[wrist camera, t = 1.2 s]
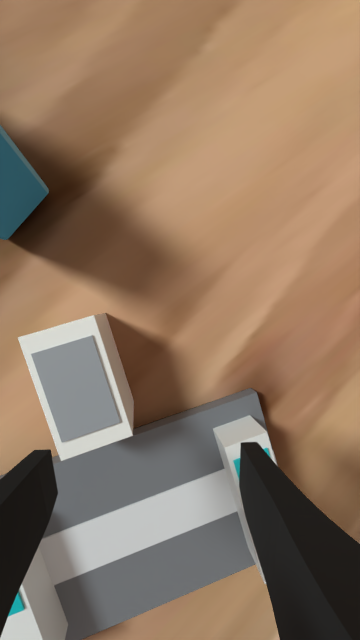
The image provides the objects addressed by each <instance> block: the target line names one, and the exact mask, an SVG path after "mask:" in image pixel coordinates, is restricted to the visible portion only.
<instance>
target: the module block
mask: <svg viewBox="0 0 360 640" xmlns="http://www.w3.org/2000/svg"><path fill="white" fill-rule="evenodd" d="M18 340H19V342H20V345H21V348H22V351H23V354H24V357H25V360H26V362H27V365H28V368H29V371H30V374H31V377H32V380H33V382H34V385H35V388H36V391H37V394H38V397H39V400H40V402H41V405H42V408H43V411H44V414H45V417H46V420H47V422H48V425H49V428H50V431H51V434H52V437H53V440H54V442H55V445H56V448H57V451H58V454H59V457H60V460H61V461H63V460H65V459H68V458H71V457H74V456H77V455H80V454H82V453H85V452H88V451H91V450H94V449H96V448H99V447H102V446H105V445H108V444H111V443H113V442H116V441H119V440H122V439H125V438H128V437H130V436H133V416H134V400H133V397H132V394H131V391H130V387H129V384H128V381H127V378H126V375H125V372H124V369H123V366H122V362H121V359H120V356H119V353H118V350H117V347H116V344H115V341H114V337H113V334H112V331H111V328H110V325H109V322H108V319H107V316H106V313H102V314H97V315H93V316H89V317H86V318H83V319H79V320H76V321H72V322H69V323H66V324H62V325H59V326H56V327H52V328H49V329H46V330H42V331H39V332H35V333H32V334H29V335H25V336H22V337H19V338H18Z"/></svg>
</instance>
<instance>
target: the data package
mask: <svg viewBox="0 0 360 640" xmlns="http://www.w3.org/2000/svg"><path fill="white" fill-rule="evenodd" d="M48 193H49V189H48V187H47V186H46V185H45V183H44V182H43V181H42V179H41V178H40V177H39V175H38V174H37V173H36V171H35V170H34V169H33V167H32V166H31V165H30V163H29V162H28V161H27V160H26V158H25V157H24V156H23V154H22V153H21V152H20V150H19V149H18V148H17V146H16V145H15V144H14V142H13V141H12V140H11V138H10V137H9V136H8V134H7V133H6V132H5V130H4V129H3V128H2V126H1V125H0V239H3V240H7V239H8V238H9V237H10V236H11V235H12V234H13V233H14V232H15V231H16V229H17V228H18V227H19V226H20V225H21V224H22V223H23V222H24V220H25V219H26V218H27V217H28V216H29V215H30V214H31V213H32V211H33V210H34V209H35V208H36V207H37V206H38V205H39V203H40V202H41V201H42V200H43V199H44V198H45V197H46V196H47V194H48Z"/></svg>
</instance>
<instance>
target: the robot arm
mask: <svg viewBox="0 0 360 640" xmlns="http://www.w3.org/2000/svg"><path fill="white" fill-rule="evenodd" d="M239 488H240V493H241V498H242V503H243V508H244V513H245V517H246V520H247V523H248V527H249V530H250V533H251V536H252V540H253V543H254V546H255V549H256V552H257V556H258V559H259V562H260V565H261V568H262V572H263V575H264V578H265V581H266V584H267V588H268V592H269V595H270V599H271V602H272V607H273V611H274V615H275V620H276V624H277V628H278V633H279V637H280V640H360V544H359V543H358V542H357V541H355V540H354V539H353V538H352V537H350V536H349V535H348V534H347V533H345V532H344V531H343V530H342V529H341V528H340V527H338V526H337V525H336V524H335V523H334V522H333V521H331V520H330V519H329V518H328V517H327V516H326V515H325V514H324V513H323V512H321V511H320V510H319V509H318V508H317V507H316V506H315V505H314V504H313V503H312V502H311V501H310V500H309V499H308V498H307V497H306V496H305V495H304V494H303V493H302V492H301V491H300V490H299V489H298V488H297V487H296V486H295V485H294V484H293V483H292V481H291V480H290V479H289V478H288V477H287V476H286V475H285V474H284V473H283V472H282V471H281V469H280V468H279V467H278V466H277V465H276V464H275V463H274V461H273V460H272V459H271V458H270V457H269V455H268V454H267V453H266V452H265V451H264V449H263V448H262V447H261V446H260V445H259V444H258V443H257V442H241V448H240V474H239ZM57 495H58V489H57V483H56V478H55V472H54V466H53V461H52V455H51V450H34V451H33V452H32V453H30V454H29V455H28V456H27V457H25V458H24V459H23V460H22V461H21V462H20V463H19V464H17V465H16V466H15V467H14V468H13V469H12V470H10V471H9V472H8V473H7V474H6V475H5V476H4V477H2V478H1V479H0V637H1V635H2V632H3V629H4V626H5V623H6V621H7V618H8V615H9V613H10V610H11V608H12V605H13V603H14V600H15V598H16V596H17V593H18V591H19V589H20V587H21V584H22V582H23V580H24V578H25V576H26V573H27V571H28V569H29V567H30V564H31V562H32V560H33V558H34V555H35V553H36V551H37V549H38V546H39V544H40V542H41V540H42V537H43V535H44V533H45V530H46V528H47V526H48V523H49V521H50V518H51V515H52V512H53V509H54V505H55V502H56V499H57Z"/></svg>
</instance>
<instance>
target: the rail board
mask: <svg viewBox="0 0 360 640" xmlns="http://www.w3.org/2000/svg"><path fill="white" fill-rule="evenodd" d="M241 442H257V443H258V444H259V445H260V446H261V447H262V448H263V449H264V451H265V452H266V453H267V454H268V455H269V457H270V458H271V459H272V460H273V461H274V463H275V464H276V465H277V461H276V458H275V454H274V451H273V449H272V445H271V442H270V438H269V434H268V431H267V427H266V424H265V420H264V417H263V413H262V410H261V406H260V402H259V399H258V395H257V392H255V391H254V390H253V389H251V388H249V389H246V390H244V391H241V392H238V393H235V394H232V395H229V396H226V397H224V398H221V399H218V400H215V401H212V402H209V403H206V404H204V405H201V406H198V407H195V408H192V409H189V410H187V411H184V412H181V413H178V414H175V415H172V416H169V417H167V418H164V419H161V420H158V421H155V422H152V423H149V424H147V425H144V426H141V427H138V428H135V429H133V436H130V437H128V438H125V439H122V440H119V441H116V442H113V443H111V444H108V445H105V446H102V447H99V448H96V449H94V450H91V451H88V452H85V453H82V454H80V455H77V456H74V457H71V458H68V459H65V460H63V461H61V460H60V457H59V455H58V456H55V457H53V458H52V461H53V466H54V472H55V478H56V483H57V489H58V495H57V499H56V502H55V505H54V509H53V512H52V515H51V518H50V521H49V523H48V526H47V528H46V530H45V533H44V535H43V537H42V540H41V542H40V544H39V546H38V549H37V551H36V553H35V555H34V558H33V560H32V562H31V564H30V567H29V569H28V571H27V573H26V576H25V578H24V580H23V582H22V584H21V587H20V589H19V591H18V593H17V596H16V598H15V600H14V603H13V605H12V608H11V610H10V613H9V615H8V618H7V621H6V623H5V626H4V629H3V632H2V635H1V637H0V640H81V639H84V638H86V637H88V636H91V635H93V634H95V633H98V632H100V631H102V630H105V629H107V628H109V627H112V626H114V625H116V624H119V623H121V622H123V621H125V620H128V619H130V618H132V617H135V616H137V615H139V614H142V613H144V612H146V611H149V610H151V609H153V608H156V607H158V606H160V605H162V604H165V603H167V602H169V601H172V600H174V599H176V598H179V597H181V596H183V595H186V594H188V593H190V592H193V591H195V590H197V589H199V588H202V587H204V586H206V585H209V584H211V583H213V582H216V581H218V580H220V579H223V578H225V577H227V576H230V575H232V574H234V573H236V572H239V571H241V570H243V569H246V568H248V567H250V566H253V565H255V564H256V566H257V568H258V570H259V572H260V575H261V577H262V579H263V581H264V583H265V584H266V581H265V578H264V575H263V572H262V568H261V565H260V562H259V559H258V556H257V552H256V549H255V546H254V543H253V540H252V536H251V533H250V530H249V527H248V523H247V520H246V517H245V513H244V508H243V503H242V498H241V493H240V488H239V474H240V448H241ZM277 466H278V465H277ZM5 475H6V474H4V475H1V476H0V479H1V478H2V477H4V476H5Z"/></svg>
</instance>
